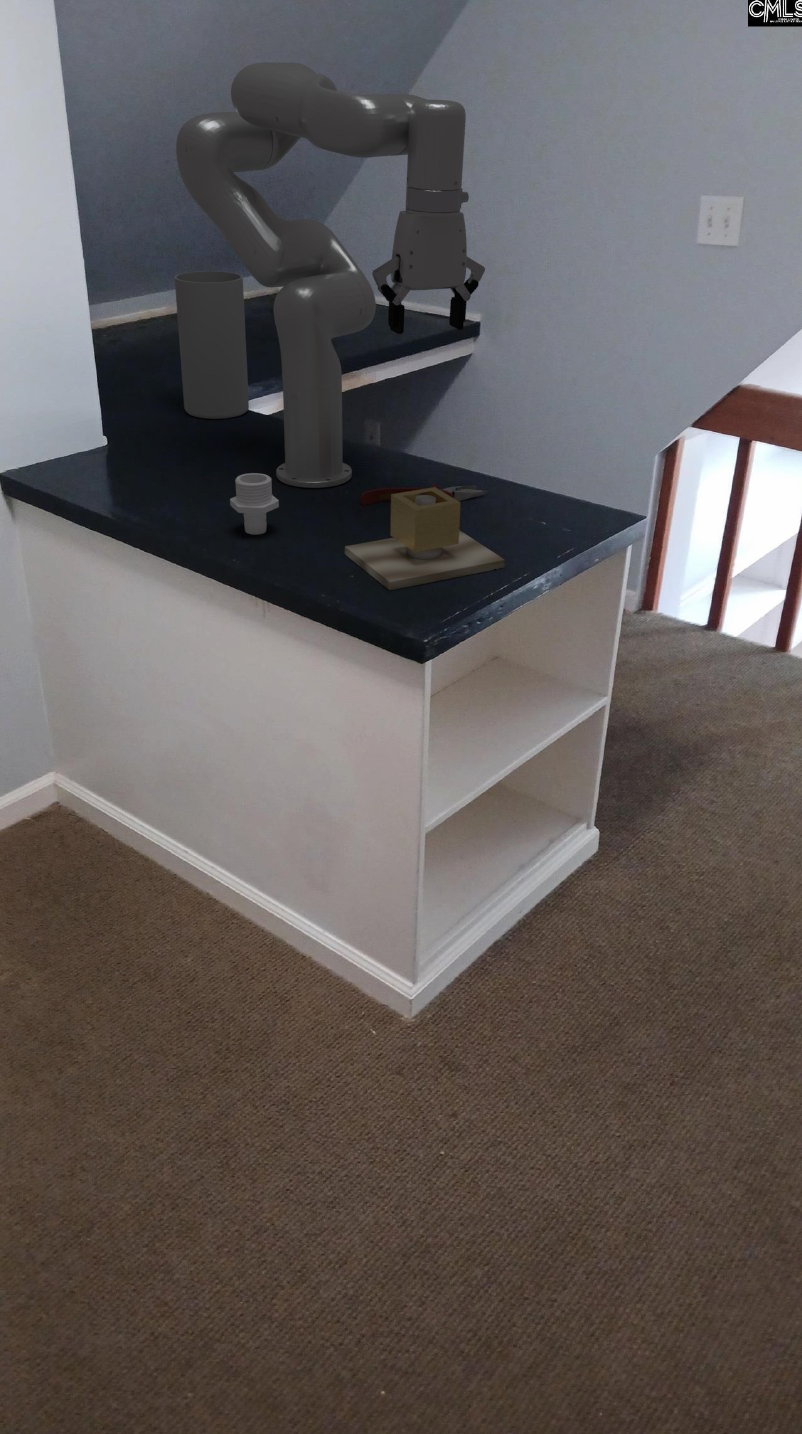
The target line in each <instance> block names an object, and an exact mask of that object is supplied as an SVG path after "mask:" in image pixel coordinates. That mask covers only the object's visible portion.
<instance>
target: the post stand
mask: <svg viewBox="0 0 802 1434" xmlns="http://www.w3.org/2000/svg"><path fill="white" fill-rule="evenodd" d="M435 503H436V498H435V497H434V496H430V495H420V496H417V497H416V498H415V504H416V505H418V506H423V505H429V504H435ZM344 555H345V556H346V557H347V558H349V559H350V560H351V561H352V562H354V563H355V564H356V565H357V566H358V567H360V568H361V569H362V570H364V572H366V573H368V574H369V575H370V576H371V577H373V579H375V580H376V581H378V582H379V583H380V584H381V585H382V586H383V587H385V588H386V589H387V590H389V591H395V590H398V589H404V588H410V587H415V586H418V585H425V584H429V583H434V582H439V581H444V580H449V579H455V578H458V577H459V578H460V577H464V576H468V575H469V576H471V575H474V574H480V573H485V572H490V571H495V570H494V569H496V570H500V568H501V569H505V565H506V564H505V563H506V562H505V561H506V560H505V559H504V558H503V557H502V556H500V555H498V553H495V552H494V551H492V550H490V549H489V548H487V546H485V545H483V544H481V543H480V542H478V541H477V540H476V539H473V538H472V537H470V536H469V535H468V534H466V533H465V532H463V531H461V530H460V529H459V544H456V545H451V546H445V547H440V548H435V549H429V550H424V551H419V552H413V551H412V550H411V549H409V548H408V547H406V546H405V545H403V544H402V543H401V542H399V541H398V540H396V539H395V538H394V537H391V538H390V537H389V538H384V539H378V540H374V541H373V540H372V541H366V542H362V543H358V544H351V545H345V546H344Z"/></svg>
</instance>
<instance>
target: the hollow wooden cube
mask: <svg viewBox="0 0 802 1434" xmlns="http://www.w3.org/2000/svg"><path fill="white" fill-rule="evenodd" d="M436 487H437V486H436ZM436 487H433V488H432V487H426V488H427V489H421V490H415V491H409V492H402V493H396V494H391V501H390V515H391V521H390V536H391V538H395V539H396V540H398V541H399V542H401V543H402V544H403V545H405V546H406V547H408V548H409V549H411V550H412V551H413V552H419V551H424V550H429V549H435V548H440V547H445V546H451V545H456V544H459V530H460V524H461V523H460V522H461V521H460V520H461V501H457V500H455V499H454V498H452V497H450V496H449V495H447V494H446V493H444V492H442V491H441V490H442V489H440V490H439V489H437V488H436ZM420 495H430V496H434V497H435V498H436V503H435V504H429V505H423V506H418V505H416V504H415V498H416V497H417V496H420Z"/></svg>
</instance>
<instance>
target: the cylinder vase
mask: <svg viewBox="0 0 802 1434" xmlns="http://www.w3.org/2000/svg"><path fill="white" fill-rule="evenodd" d="M243 277H244V276H243V275H242V274H240V273H235V272H230V271H219V270H217V271H216V270H201V271H190V272H189V271H187V272H182V273H178V274H176V275H174V287H175V300H176V301H175V302H176V314H177V315H176V316H177V327H178V329H177V330H178V340H179V342H178V343H179V353H180V367H181V382H182V393H183V395H182V396H183V408H184V410H185V411H184V412H186V413H187V414H188V415H190V416H192V417H195V418H200V419H207V420H208V419H209V420H220V419H222V420H223V419H231V418H236V417H239V416H242V415H244V414H246V413H247V412H248V410H249V407H250V404H249V403H250V401H249V383H248V382H249V381H248V379H249V377H248V362H247V361H248V360H247V341H246V340H247V339H246V321H245V320H246V317H245V300H244V299H245V298H244V297H245V296H244V294H245V293H244V278H243Z"/></svg>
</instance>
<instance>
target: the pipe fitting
mask: <svg viewBox="0 0 802 1434" xmlns="http://www.w3.org/2000/svg"><path fill="white" fill-rule="evenodd" d="M234 482H235V492H236V493H235V495H236V496H234V497H231V498H230V499H229V504H230V507H231V508H233V510H235V511H236V512H237V513H239V514H243V518H244V519H243V524H244V532H245V533H247V534H248V535H249V534H250V535H263V534H265V533H266V532H267V523H268V522H267V513H269V512H270V511H274V510H275V509H278V508H279V507H280V506H279V505H280V503H279V502H280V501H279V499H277V497H275V496H274V495H273V493H272V492H273V490H272V489H273V488H272V484H273V483H272V477H270V476H269V475H267V474H264V473H256V472H255V473H254V472H251V473H249V472H248V473H244V474H240V475H238V476H237V477H236V478H235V480H234Z"/></svg>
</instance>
